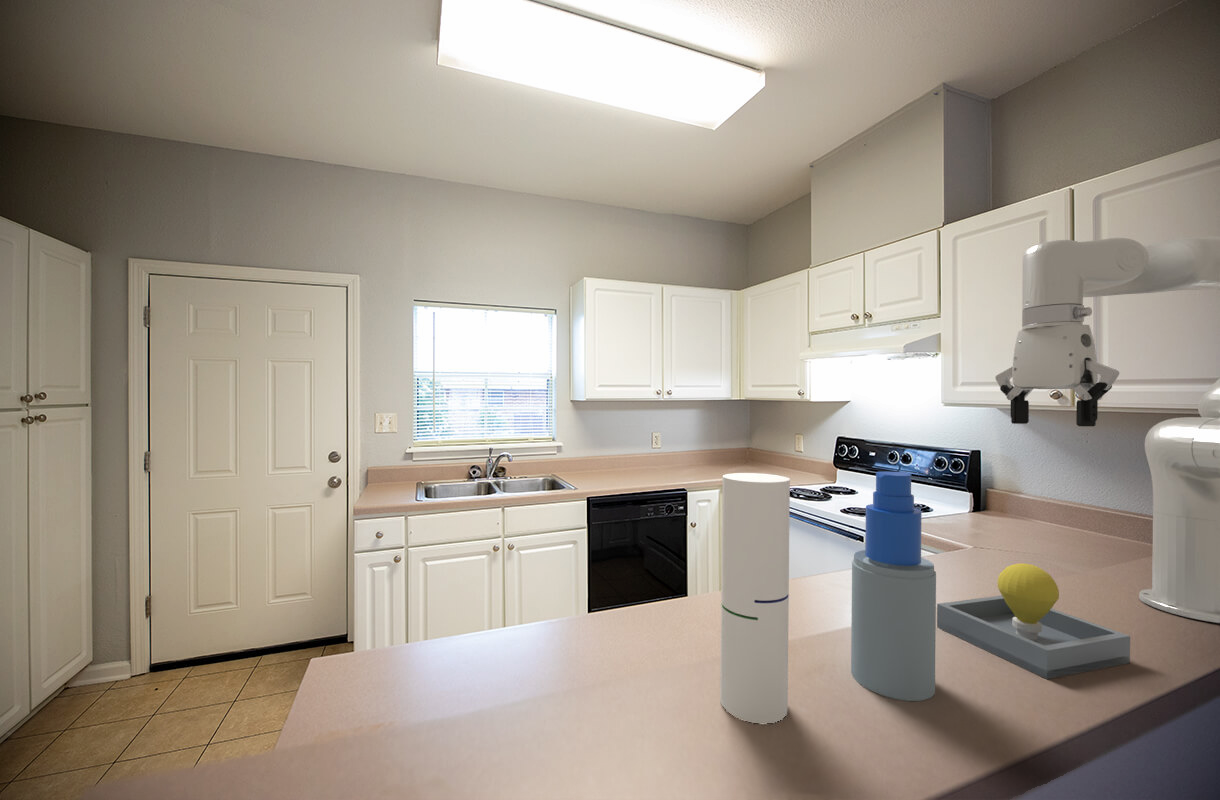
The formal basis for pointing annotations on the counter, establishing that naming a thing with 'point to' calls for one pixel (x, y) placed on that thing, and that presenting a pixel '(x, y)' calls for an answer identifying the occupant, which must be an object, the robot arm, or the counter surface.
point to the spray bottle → (893, 598)
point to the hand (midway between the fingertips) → (1051, 424)
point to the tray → (1051, 655)
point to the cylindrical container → (755, 596)
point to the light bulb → (1027, 596)
